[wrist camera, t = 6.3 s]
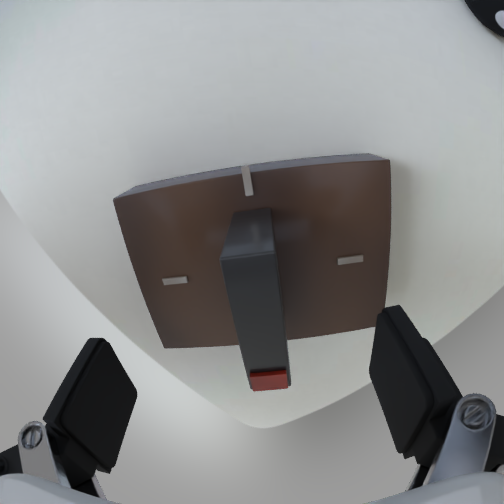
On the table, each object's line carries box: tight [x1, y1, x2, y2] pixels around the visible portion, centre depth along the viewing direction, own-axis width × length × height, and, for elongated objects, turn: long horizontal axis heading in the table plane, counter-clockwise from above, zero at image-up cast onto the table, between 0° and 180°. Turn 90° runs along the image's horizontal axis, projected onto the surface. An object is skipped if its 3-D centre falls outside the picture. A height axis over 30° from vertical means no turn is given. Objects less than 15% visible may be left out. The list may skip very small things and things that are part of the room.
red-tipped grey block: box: [219, 208, 291, 391], centre depth 12 cm, size 6×2×5 cm, turn 9°
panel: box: [113, 154, 391, 348], centre depth 16 cm, size 14×11×3 cm
